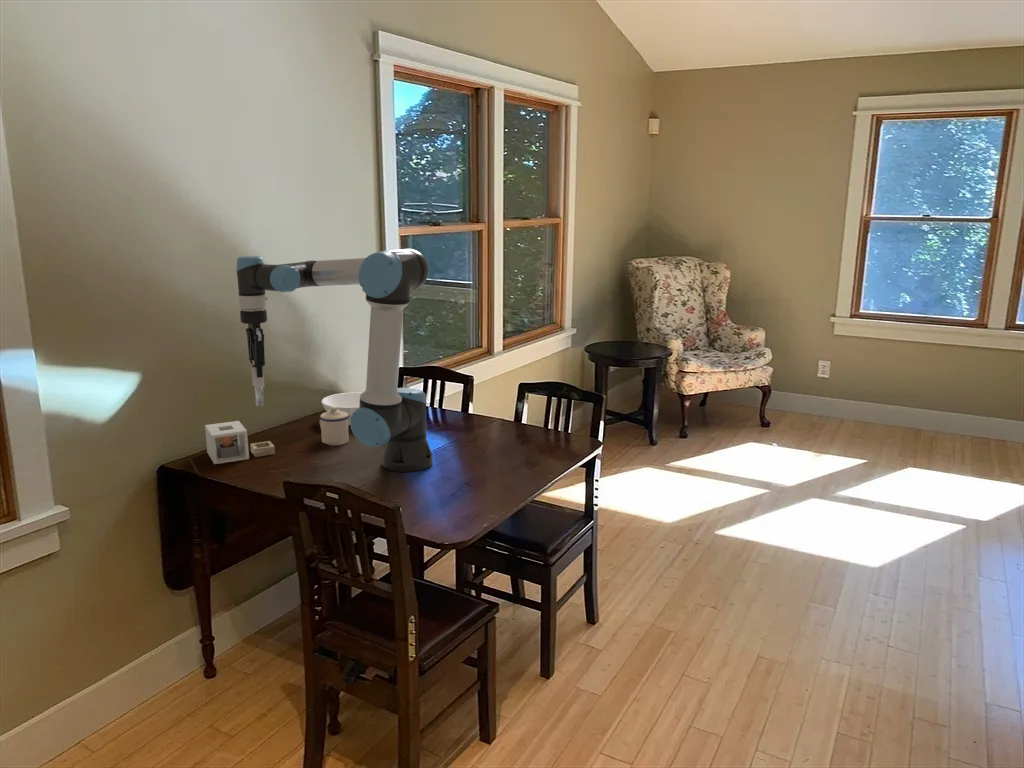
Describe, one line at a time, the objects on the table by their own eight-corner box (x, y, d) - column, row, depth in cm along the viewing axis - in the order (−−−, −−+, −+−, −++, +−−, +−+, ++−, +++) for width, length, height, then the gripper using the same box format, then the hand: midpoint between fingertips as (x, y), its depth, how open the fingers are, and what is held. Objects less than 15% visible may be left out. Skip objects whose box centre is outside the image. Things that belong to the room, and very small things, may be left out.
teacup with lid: (355, 441, 257) (354, 407, 255) (332, 448, 251) (331, 412, 248) (332, 434, 265) (330, 400, 262) (309, 440, 258) (308, 406, 255)
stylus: (265, 405, 240) (261, 360, 236) (256, 406, 238) (253, 361, 235) (263, 403, 242) (260, 358, 238) (254, 404, 240) (251, 359, 237)
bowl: (350, 434, 265) (349, 411, 263) (309, 422, 277) (308, 400, 275) (395, 420, 281) (394, 398, 279) (355, 410, 293) (354, 389, 291)
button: (233, 446, 239) (232, 433, 238) (222, 447, 238) (221, 435, 237) (231, 443, 242) (230, 431, 241) (221, 444, 240) (220, 432, 239)
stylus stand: (275, 455, 243) (274, 446, 242) (255, 458, 240) (254, 449, 239) (270, 450, 248) (269, 440, 247) (250, 452, 245) (250, 443, 244)
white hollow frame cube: (249, 460, 238) (247, 430, 236) (214, 465, 233) (211, 435, 231) (240, 449, 248) (238, 420, 246) (207, 454, 243) (204, 425, 241)
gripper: (272, 311, 228) (277, 390, 234) (260, 305, 241) (265, 379, 247) (245, 313, 225) (251, 393, 230) (234, 306, 238) (240, 382, 243)
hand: (258, 386), depth 239 cm, fingers closed on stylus, 2 cm apart
